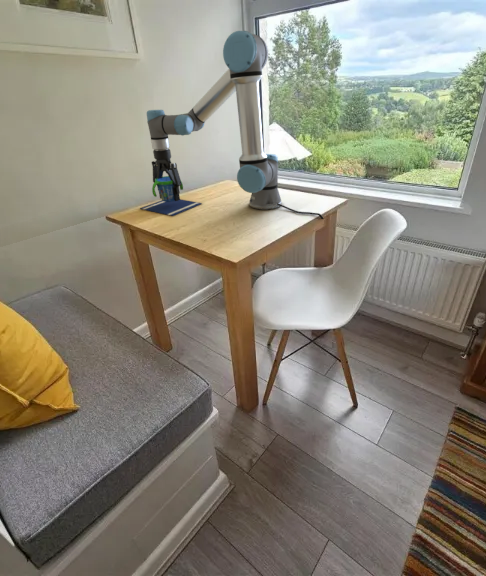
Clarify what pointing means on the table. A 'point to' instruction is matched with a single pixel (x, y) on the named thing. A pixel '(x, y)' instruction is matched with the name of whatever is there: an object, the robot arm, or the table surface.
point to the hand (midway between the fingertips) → (169, 199)
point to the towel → (171, 207)
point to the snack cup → (165, 188)
